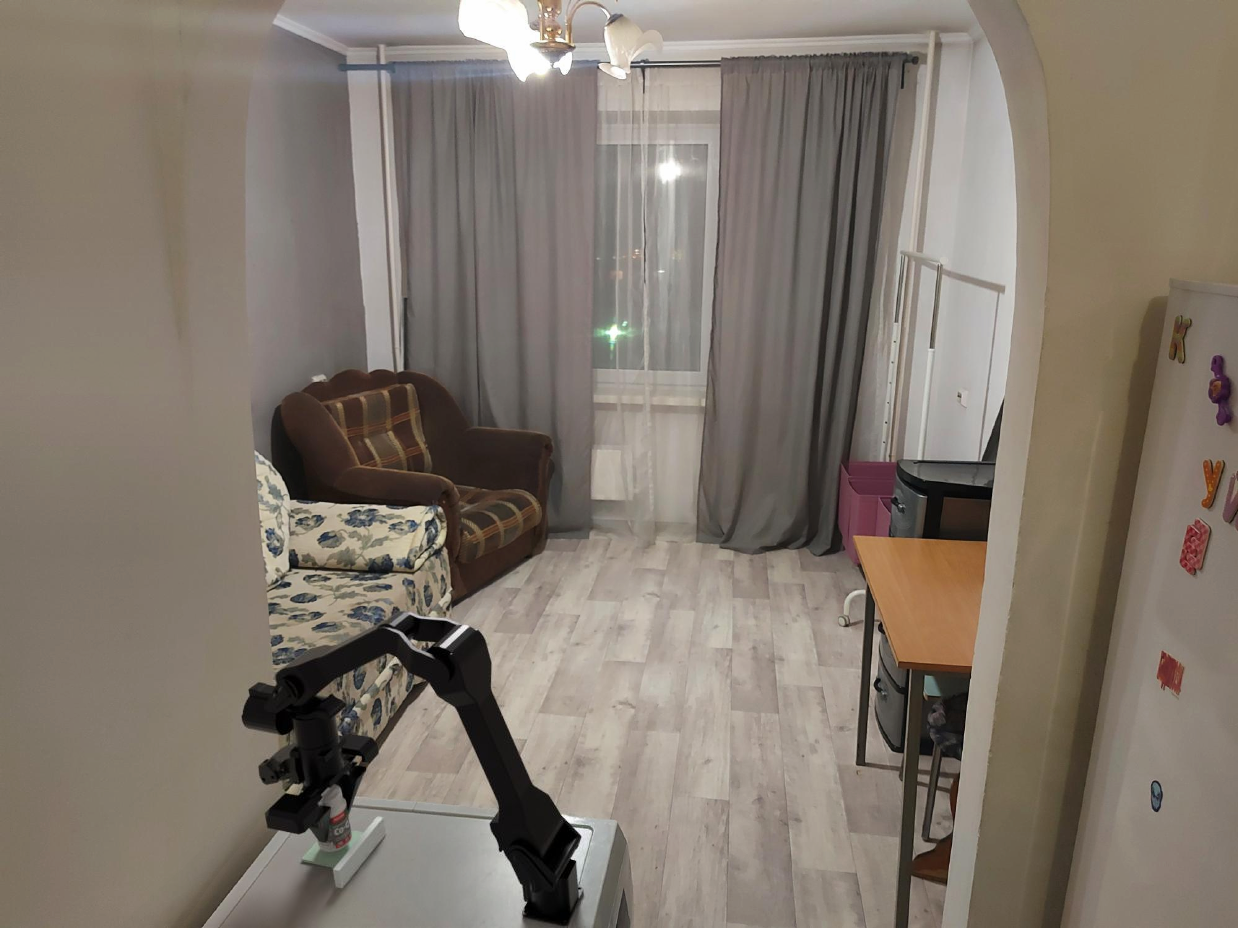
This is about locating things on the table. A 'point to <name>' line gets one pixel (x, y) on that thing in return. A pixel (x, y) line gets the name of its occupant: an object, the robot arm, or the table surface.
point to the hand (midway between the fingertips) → (333, 829)
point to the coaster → (329, 853)
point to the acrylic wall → (359, 852)
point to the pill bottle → (336, 820)
